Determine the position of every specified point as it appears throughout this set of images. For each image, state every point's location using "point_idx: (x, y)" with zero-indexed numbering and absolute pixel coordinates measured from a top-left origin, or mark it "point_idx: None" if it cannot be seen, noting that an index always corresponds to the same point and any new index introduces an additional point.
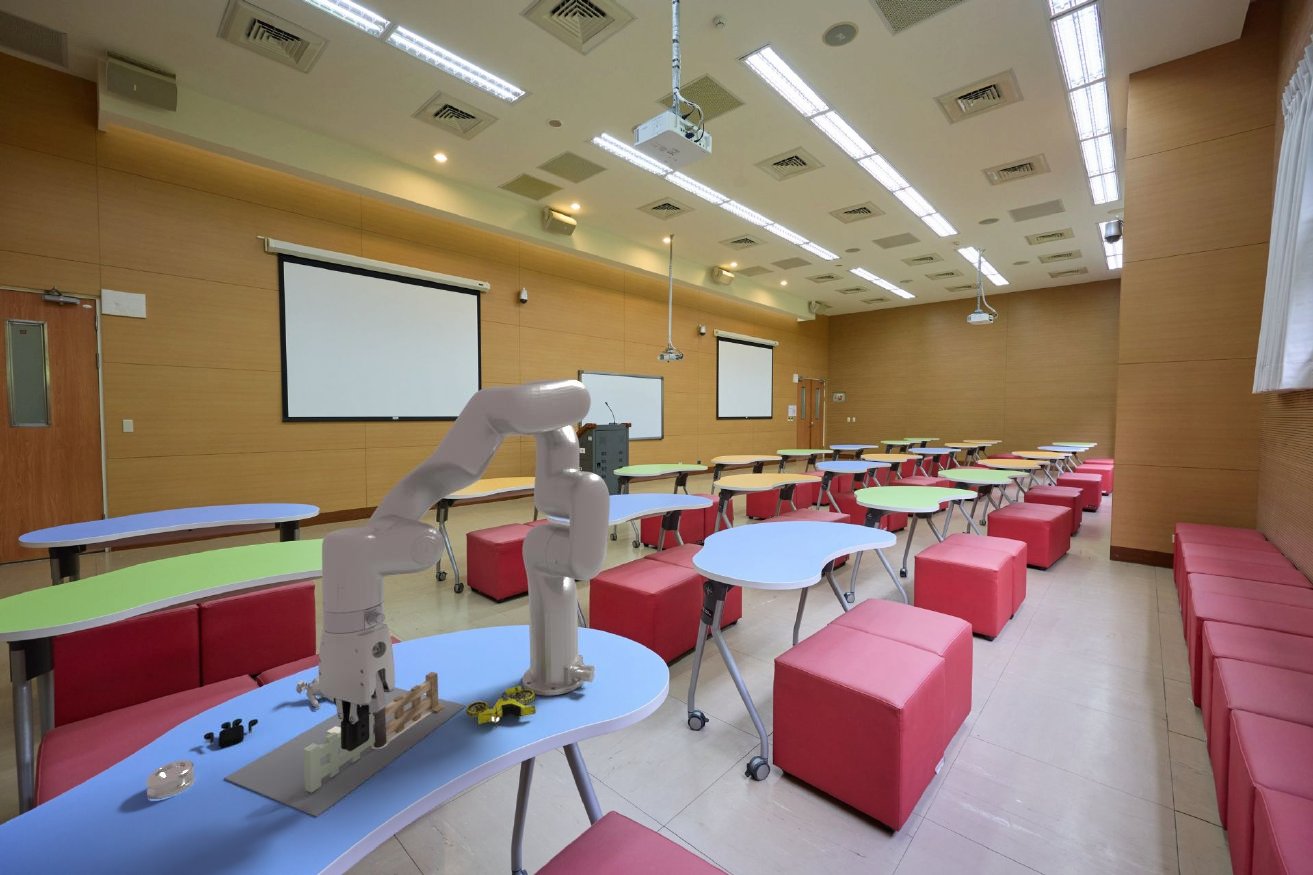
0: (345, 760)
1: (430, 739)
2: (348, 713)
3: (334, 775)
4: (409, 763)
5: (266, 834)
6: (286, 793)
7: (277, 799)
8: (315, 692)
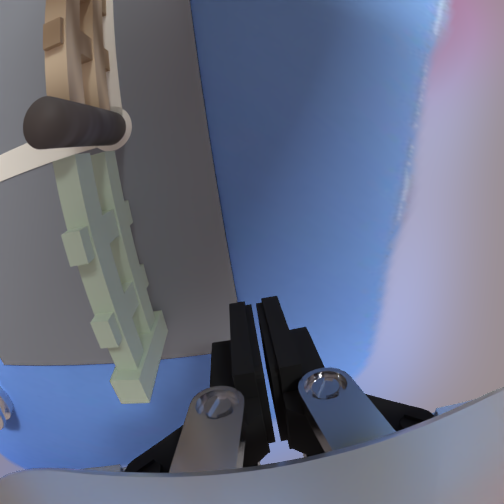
0: (134, 251)
1: (220, 30)
2: (263, 455)
3: None
4: (266, 126)
5: None
6: None
7: None
8: None
